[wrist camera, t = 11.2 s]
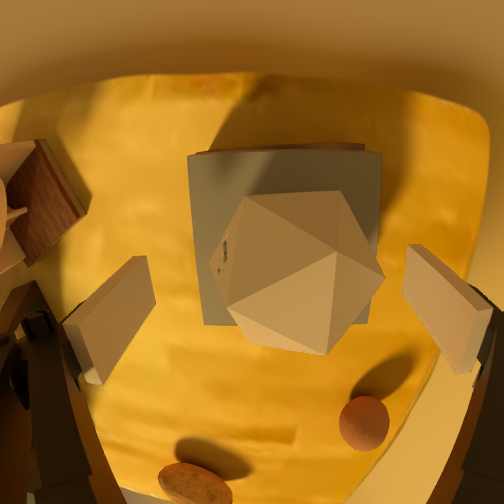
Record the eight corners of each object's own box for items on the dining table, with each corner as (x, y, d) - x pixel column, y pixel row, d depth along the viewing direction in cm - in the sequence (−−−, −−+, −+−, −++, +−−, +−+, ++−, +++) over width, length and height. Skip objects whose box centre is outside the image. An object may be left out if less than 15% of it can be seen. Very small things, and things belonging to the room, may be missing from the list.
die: (325, 153, 18) (199, 163, 12) (427, 255, 16) (357, 345, 9) (267, 240, 24) (156, 283, 17) (343, 328, 21) (249, 411, 14)
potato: (193, 486, 49) (184, 523, 40) (159, 449, 44) (145, 491, 36) (240, 486, 47) (235, 526, 38) (212, 449, 43) (202, 496, 34)
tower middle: (216, 293, 27) (204, 324, 23) (205, 152, 23) (187, 155, 18) (353, 292, 26) (367, 323, 21) (361, 150, 22) (381, 153, 17)
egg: (344, 383, 36) (354, 433, 28) (389, 385, 35) (405, 431, 28) (329, 415, 38) (335, 462, 30) (371, 416, 38) (382, 461, 30)
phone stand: (65, 335, 37) (19, 388, 26) (42, 340, 38) (-2, 387, 27) (35, 279, 34) (-23, 323, 23) (13, 288, 35) (-39, 328, 24)
